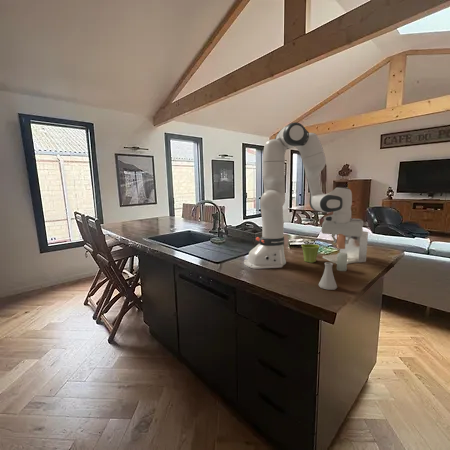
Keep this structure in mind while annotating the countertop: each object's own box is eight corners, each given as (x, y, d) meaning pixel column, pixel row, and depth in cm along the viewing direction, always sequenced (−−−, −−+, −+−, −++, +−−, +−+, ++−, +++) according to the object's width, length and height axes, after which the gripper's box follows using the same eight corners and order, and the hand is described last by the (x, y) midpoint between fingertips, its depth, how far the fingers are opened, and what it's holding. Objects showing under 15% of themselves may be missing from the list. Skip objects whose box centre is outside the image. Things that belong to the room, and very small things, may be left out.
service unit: (339, 265, 132) (341, 234, 129) (321, 257, 145) (323, 230, 143) (366, 261, 137) (368, 232, 134) (347, 254, 150) (348, 227, 148)
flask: (337, 291, 101) (338, 267, 99) (318, 289, 103) (319, 265, 102) (336, 284, 107) (338, 261, 106) (318, 282, 110) (319, 260, 108)
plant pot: (299, 258, 145) (300, 243, 143) (317, 258, 143) (317, 243, 142) (302, 263, 136) (302, 247, 134) (320, 264, 134) (321, 248, 133)
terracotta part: (341, 249, 136) (342, 234, 135) (334, 247, 140) (335, 233, 139) (346, 248, 138) (347, 233, 137) (339, 246, 142) (340, 232, 141)
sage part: (341, 271, 122) (341, 255, 121) (334, 268, 127) (335, 253, 125) (348, 270, 124) (349, 254, 122) (342, 267, 128) (342, 252, 126)
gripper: (364, 218, 133) (363, 244, 135) (324, 216, 145) (323, 240, 147) (362, 219, 128) (361, 246, 130) (320, 217, 140) (320, 242, 142)
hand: (340, 243), depth 139 cm, fingers closed on terracotta part, 4 cm apart
